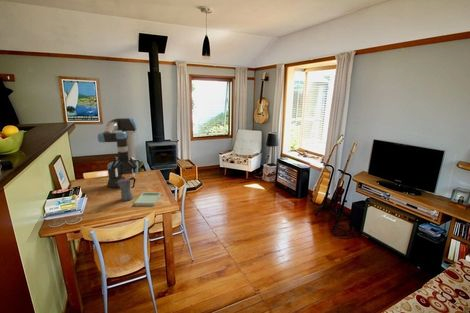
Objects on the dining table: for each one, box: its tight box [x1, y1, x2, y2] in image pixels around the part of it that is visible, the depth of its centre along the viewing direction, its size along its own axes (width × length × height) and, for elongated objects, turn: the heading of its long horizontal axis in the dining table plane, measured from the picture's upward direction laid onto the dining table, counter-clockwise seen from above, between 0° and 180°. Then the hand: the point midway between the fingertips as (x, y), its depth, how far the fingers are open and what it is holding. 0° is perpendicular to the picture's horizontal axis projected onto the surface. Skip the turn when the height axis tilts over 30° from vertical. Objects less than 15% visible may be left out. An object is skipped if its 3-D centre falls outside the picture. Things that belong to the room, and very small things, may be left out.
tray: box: [133, 191, 162, 207], centre depth 201 cm, size 21×16×2 cm
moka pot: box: [116, 176, 136, 202], centre depth 200 cm, size 10×15×20 cm, turn 135°
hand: (125, 176), depth 197 cm, fingers open, 13 cm apart
